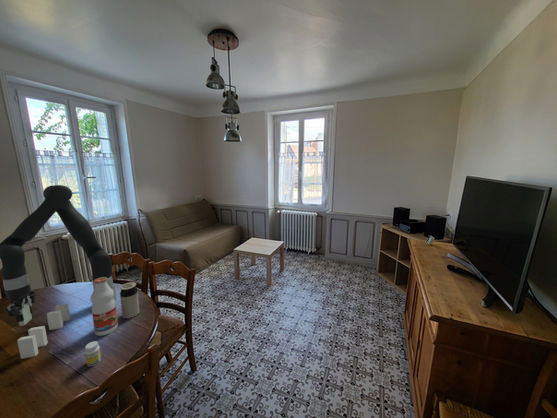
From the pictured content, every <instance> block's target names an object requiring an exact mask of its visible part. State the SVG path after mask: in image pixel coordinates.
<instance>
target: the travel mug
mask: <svg viewBox="0 0 557 418" xmlns="http://www.w3.org/2000/svg"><path fill="white" fill-rule="evenodd" d="M136 285H137V283H136V282H134V281H133V282H132V281H130V282H126V283H123V284H121V285H120V286H119V290H120V292H119V295H120V296H119V297H120V304H121V314H122V318H123V319H125V318H128V319H132V318H134V316H135V317H136V316H138V315H139V314H140V303H139V294H138V288H137V286H136ZM138 313H139V314H138ZM137 314H138V315H137ZM131 317H132V318H131Z"/></svg>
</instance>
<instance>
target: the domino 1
mask: <svg viewBox="0 0 557 418" xmlns="http://www.w3.org/2000/svg"><path fill="white" fill-rule="evenodd" d="M16 308H20V307H16ZM17 311H18V312H19V310H17ZM22 313H23V317H24V321H22V322H18V325H19V327H22V326H26V325H27V324H28V323H29V322H30V321H31V320H33V316H32V314H31V312H30V307H29V304H28V303H26V304H24V308H23V310H22Z"/></svg>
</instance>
